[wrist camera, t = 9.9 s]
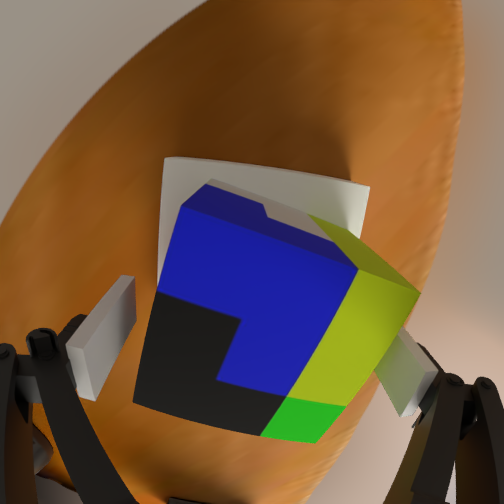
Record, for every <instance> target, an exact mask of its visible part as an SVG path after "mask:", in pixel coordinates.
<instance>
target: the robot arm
mask: <svg viewBox="0 0 504 504" xmlns="http://www.w3.org/2000/svg"><path fill="white" fill-rule="evenodd" d="M135 322H136V300H135V277H134V276H127V275H121V276H120V278H119V279H118V280H117V281H116V282H115V283H114V285H113V286H112V287H111V288H110V289H109V291H108V292H107V293H106V294H105V295H104V296H103V298H102V299H101V300H100V301H99V303H98V304H97V305H96V306H95V307H94V309H93V310H92V311H91V312H90V314H89V315H83V314H79V315H77V316H76V317H74V318H72V319H71V320H70V322H69V323H68V324H67V326H65V327H64V329H63V331H61V332H60V333H59V335H58V336H57V334H56V333H55V331H53V330H51V329H48V328H38V329H35V330H33V331H31V332H30V333H29V334H28V335H27V336H26V343H27V346H28V350H29V353H30V355H19V354H17V353H16V350H15V348H14V347H13V346H12V345H10V344H7V343H2V344H0V504H38V499H37V492H36V484H35V474H36V473H37V472H38V471H40V470H41V469H42V468H43V467H44V466H45V465H46V464H48V463H49V461H50V459H51V457H52V455H53V448H52V446H51V444H50V443H49V441H48V440H47V439H46V438H45V437H44V435H43V434H42V433H41V432H40V431H39V430H38V429H37V428H36V427H35V426H34V425H32V413H33V403H42V404H43V407H44V410H45V413H46V416H47V420H48V423H49V426H50V428H51V431H52V434H53V437H54V440H55V442H56V445H57V447H58V450H59V452H60V455H61V457H62V460H63V462H64V465H65V467H66V469H67V471H68V474H69V476H70V478H71V480H72V482H73V484H74V486H75V488H76V490H77V492H78V494H79V496H80V498H81V500H82V502H83V504H139V503H138V502H137V501H136V500H135V499H134V497H133V496H132V494H131V493H130V491H129V490H128V488H127V487H126V485H125V484H124V482H123V481H122V479H121V477H120V476H119V474H118V473H117V471H116V469H115V468H114V466H113V464H112V463H111V461H110V459H109V457H108V456H107V454H106V452H105V450H104V449H103V447H102V445H101V443H100V441H99V439H98V437H97V435H96V434H95V432H94V430H93V428H92V426H91V424H90V422H89V419H88V417H87V415H86V413H85V411H84V409H83V407H82V404H81V402H80V400H79V398H78V395H77V393H76V391H75V389H76V387H77V391H78V394H79V397H82V398H85V399H89V400H93V401H96V399H97V397H98V395H99V393H100V391H101V389H102V387H103V384H104V382H105V380H106V378H107V376H108V374H109V372H110V370H111V368H112V366H113V364H114V362H115V360H116V358H117V356H118V354H119V353H120V351H121V349H122V347H123V345H124V343H125V341H126V339H127V337H128V335H129V333H130V332H131V330H132V328H133V326H134V324H135ZM374 371H375V373H376V374H377V376H378V378H379V380H380V381H381V383H382V385H383V387H384V389H385V390H386V392H387V394H388V396H389V397H390V400H391V401H392V403H393V405H394V407H395V409H396V411H397V413H398V414H399V416H400V417H405V416H411V415H413V414H414V412H415V411H416V409H417V408H418V406H419V407H420V409H421V411H422V412H421V413H420V415H419V416H418V418H417V419H416V421H415V423H414V424H413V426H412V428H414V426H415V428H414V431H413V434H412V437H411V440H410V442H409V445H408V448H407V451H406V454H405V456H404V458H403V461H402V463H401V465H400V468H399V471H398V472H397V475H396V477H395V480H394V482H393V484H392V486H391V488H390V490H389V492H388V494H387V496H386V499H385V501H384V503H383V504H450V503H448V502H445V498H446V494H447V491H448V487H449V483H450V479H451V475H452V471H453V466H454V462H455V470H456V504H504V408H503V405H502V402H501V399H500V396H499V393H498V391H497V388H496V386H495V384H494V383H493V382H492V380H490V379H489V378H486V377H478V378H477V379H476V381H475V383H474V384H473V385H469V384H464V381H463V380H462V379H461V378H460V377H459V376H457V375H455V374H452V373H445V372H444V370H443V369H442V368H441V367H440V365H439V364H438V363H437V362H436V360H434V358H433V357H432V356H431V355H430V353H429V352H428V351H427V350H426V348H425V347H423V346H422V345H420V344H419V343H416V342H415V341H414V339H413V338H412V337H411V336H410V335H409V333H408V332H407V331H406V330H405V329H404V327H403V326H402V327H401V329H400V330H399V332H398V334H397V335H396V337H395V338H394V340H393V342H392V343H391V345H390V346H389V348H388V349H387V351H386V352H385V354H384V355H383V357H382V358H381V360H380V361H379V363H378V364H377V366H376V367H375V369H374ZM476 419H477V421H476Z"/></svg>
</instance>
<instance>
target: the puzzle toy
mask: <svg viewBox="0 0 504 504" xmlns="http://www.w3.org/2000/svg"><path fill="white" fill-rule="evenodd" d="M420 294H421V293H420V292H419V291H418V290H417V289H416V288H415V287H414V286H413V285H412V284H410V283H409V282H408V281H407V280H406V279H405V278H404V277H403V276H402V275H400V274H399V273H398V272H397V271H396V270H395V269H394V268H392V267H391V266H390V265H389V264H388V263H387V262H386V261H384V260H383V259H382V258H381V257H380V256H379V255H377V254H376V253H375V252H374V251H373V250H372V249H370V248H369V247H368V246H367V245H366V244H364V243H363V242H362V241H361V240H360V239H358V238H357V237H356V236H355V235H354V234H352V233H351V232H350V231H349V230H347V229H344V228H342V227H339V226H337V225H335V224H332V223H330V222H327V221H325V220H322V219H320V218H317V217H315V216H312V215H310V214H307V213H305V212H302V211H300V210H297V209H295V208H292V207H289V206H287V205H284V204H282V203H279V202H276V201H274V200H271V199H268V198H266V197H263V196H260V195H258V194H255V193H252V192H249V191H247V190H244V189H241V188H238V187H236V186H233V185H230V184H227V183H224V182H221V181H218V180H216V179H213V178H211V179H210V180H209V181H208V182H206V183H205V184H204V185H203V186H202V187H201V188H200V189H198V190H197V191H196V192H195V193H194V194H193V195H192V196H191V197H189V198H188V199H187V200H186V201H185V202H184V203H183V204H182V205H181V207H180V210H179V213H178V216H177V219H176V223H175V226H174V229H173V233H172V236H171V239H170V243H169V246H168V250H167V253H166V257H165V260H164V264H163V268H162V271H161V275H160V279H159V282H158V286H157V290H156V294H155V298H154V302H153V306H152V310H151V314H150V319H149V323H148V327H147V332H146V336H145V341H144V345H143V350H142V355H141V359H140V364H139V369H138V375H137V380H136V385H135V391H134V396H133V403H136V404H139V405H142V406H144V407H147V408H150V409H153V410H156V411H160V412H163V413H166V414H169V415H172V416H176V417H179V418H183V419H186V420H190V421H194V422H197V423H201V424H205V425H209V426H213V427H217V428H222V429H226V430H231V431H236V432H241V433H246V434H251V435H256V436H262V437H268V438H275V439H282V440H289V441H297V442H306V443H316V442H317V441H318V440H319V439H320V438H321V437H322V435H323V434H324V433H325V432H326V431H327V430H328V428H329V427H330V426H331V425H332V424H333V422H334V421H335V420H336V419H337V418H338V416H339V415H340V414H341V413H342V411H343V410H344V409H345V408H346V406H347V405H348V404H349V403H350V401H351V400H352V399H353V397H354V396H355V395H356V394H357V392H358V391H359V390H360V388H361V387H362V385H363V384H364V383H365V381H366V380H367V379H368V377H369V376H370V374H371V373H372V372H373V370H374V369H375V367H376V366H377V364H378V363H379V361H380V360H381V358H382V357H383V355H384V354H385V352H386V351H387V349H388V348H389V346H390V345H391V343H392V342H393V340H394V338H395V337H396V335H397V334H398V332H399V330H400V329H401V327H402V326H403V324H404V322H405V320H406V319H407V317H408V315H409V314H410V312H411V310H412V308H413V307H414V305H415V303H416V301H417V300H418V298H419V296H420Z"/></svg>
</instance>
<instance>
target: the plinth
mask: <svg viewBox="0 0 504 504" xmlns="http://www.w3.org/2000/svg"><path fill="white" fill-rule="evenodd" d="M211 178H213V179H216V180H218V181H221V182H224V183H227V184H230V185H233V186H236V187H238V188H241V189H244V190H247V191H249V192H252V193H255V194H258V195H260V196H263V197H266V198H268V199H271V200H274V201H276V202H279V203H282V204H284V205H287V206H289V207H292V208H295V209H297V210H300V211H302V212H305V213H307V214H310V215H312V216H315V217H317V218H320V219H322V220H325V221H327V222H330V223H332V224H335V225H337V226H339V227H342V228H344V229H347V230H349V231H350V232H351V233H352V234H354V235H355V236H356V237H357V238H358V239H359V238H360V234H361V230H362V225H363V220H364V216H365V211H366V206H367V201H368V196H369V190H370V187H368V186H365V185H362V184H359V183H356V182H353V181H349V180H344V179H339V178H334V177H329V176H323V175H318V174H312V173H306V172H300V171H294V170H288V169H281V168H275V167H268V166H261V165H253V164H246V163H237V162H229V161H220V160H211V159H200V158H189V157H168V158H165V159H164V169H163V180H162V192H161V206H160V222H159V243H158V282H159V279H160V275H161V271H162V268H163V264H164V260H165V257H166V253H167V250H168V246H169V243H170V239H171V236H172V233H173V229H174V226H175V223H176V219H177V216H178V213H179V210H180V207H181V205H182V204H183V203H184V202H185V201H186V200H187V199H188V198H189V197H191V196H192V195H193V194H194V193H195V192H196V191H197V190H198V189H200V188H201V187H202V186H203V185H204V184H205V183H206V182H208V181H209V180H210V179H211ZM157 286H158V283H157Z"/></svg>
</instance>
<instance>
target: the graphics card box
mask: <svg viewBox="0 0 504 504" xmlns="http://www.w3.org/2000/svg"><path fill="white" fill-rule="evenodd" d="M168 504H200V503H195V502H188V501H183V500H178V499H174V498H169V501H168Z"/></svg>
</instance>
